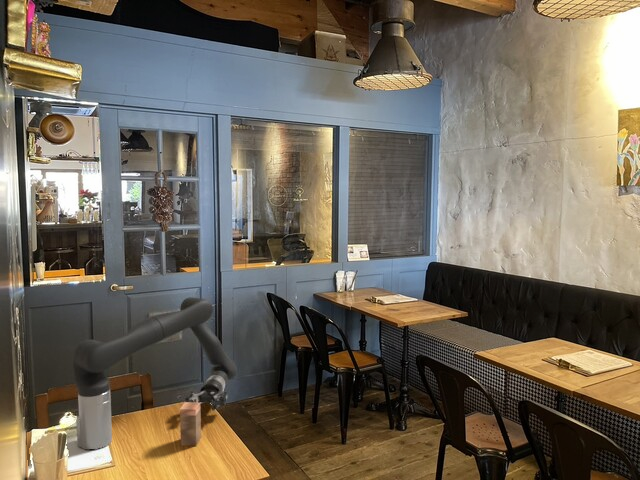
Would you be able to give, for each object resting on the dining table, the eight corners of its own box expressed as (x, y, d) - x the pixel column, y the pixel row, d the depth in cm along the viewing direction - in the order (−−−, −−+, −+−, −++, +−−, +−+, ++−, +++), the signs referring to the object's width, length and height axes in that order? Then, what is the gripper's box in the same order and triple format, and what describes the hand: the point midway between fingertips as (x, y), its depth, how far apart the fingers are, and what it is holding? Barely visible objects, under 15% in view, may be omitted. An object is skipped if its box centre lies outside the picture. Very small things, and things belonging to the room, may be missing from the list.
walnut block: (180, 445, 153) (179, 409, 152) (185, 437, 158) (185, 402, 157) (196, 445, 153) (195, 409, 152) (201, 437, 158) (200, 402, 157)
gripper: (194, 378, 182) (180, 396, 166) (231, 379, 181) (221, 397, 165) (194, 397, 183) (180, 417, 167) (232, 398, 182) (221, 418, 166)
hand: (200, 407), depth 166 cm, fingers open, 8 cm apart
